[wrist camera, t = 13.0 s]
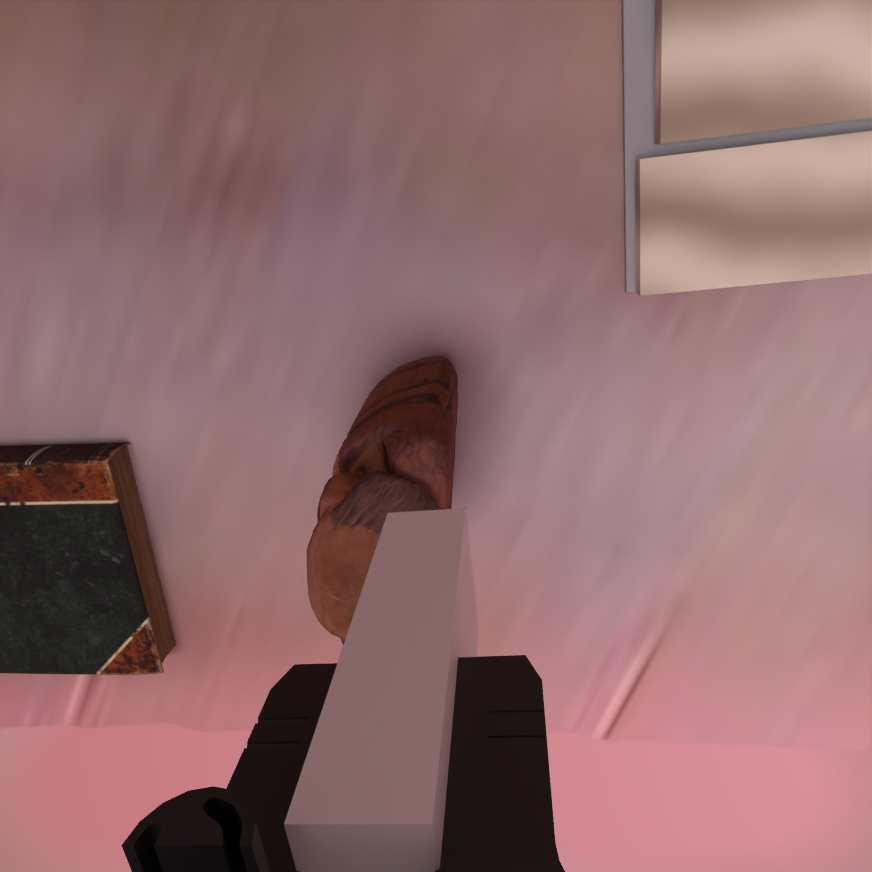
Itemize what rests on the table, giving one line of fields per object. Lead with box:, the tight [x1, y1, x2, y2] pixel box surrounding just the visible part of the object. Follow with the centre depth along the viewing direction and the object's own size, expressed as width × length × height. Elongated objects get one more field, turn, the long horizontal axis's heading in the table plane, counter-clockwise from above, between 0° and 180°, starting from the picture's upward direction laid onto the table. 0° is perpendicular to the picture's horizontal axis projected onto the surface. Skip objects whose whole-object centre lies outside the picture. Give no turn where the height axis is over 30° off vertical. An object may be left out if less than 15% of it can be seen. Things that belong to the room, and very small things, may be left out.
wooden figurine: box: [307, 357, 458, 645], centre depth 34 cm, size 12×6×18 cm, turn 175°
